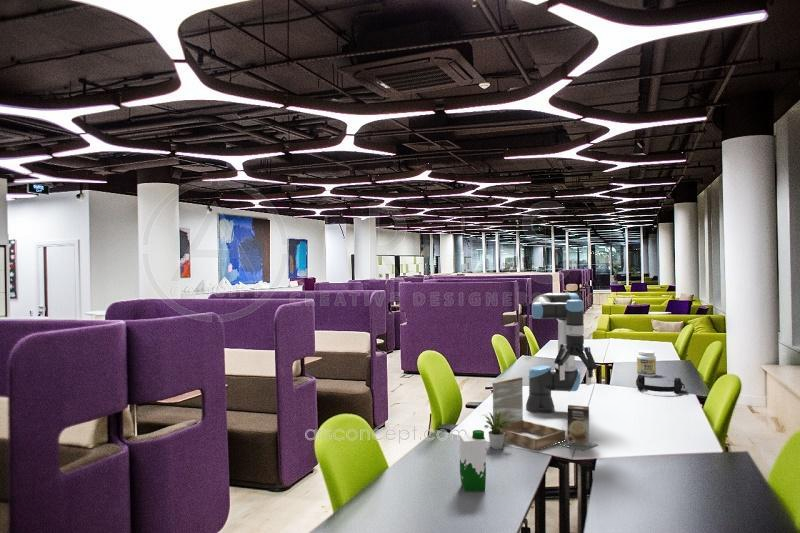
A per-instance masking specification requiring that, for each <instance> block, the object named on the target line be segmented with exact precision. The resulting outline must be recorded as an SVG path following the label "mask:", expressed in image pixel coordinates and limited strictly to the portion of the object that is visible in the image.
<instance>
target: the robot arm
mask: <svg viewBox="0 0 800 533" xmlns="http://www.w3.org/2000/svg"><path fill="white" fill-rule="evenodd" d="M531 302H532V303H531V318H533V319H538V320H540V319H542V320H544V319H547V320H548V319H549V320H550V319H554V320H555V319H556V320H557V322H558V323H557V328H558V330H557V339H558V340H557V355H556V357H555V360H554V364H555V366H554V368H552V367H551V366H550V365H538V366H533V367H530V368H529V370H528V378H529V379H528V380H529V381H528V398H527V400H526V403H525V409H526V410H527V411H528V412H533V413H541V414H542V413H543V414H545V413H553V412H554V411H555V403H554V400H553V397H552V392H556V391H557V392H577V391H578V390H579V388H580V382H581V370H580V369H578V365H576V364H575V361H576V360H575V359H576V358H575V357H578V358H580V360H581V362H582V363H583V365H584V366H585V367H586V370H585V376H586V377H585V378H586V379H585V380H586V381H585V385H586V386H591V385H592V378H593V376H594V372H593V371H594V370H596V369H597V368H598V366H597V364H596V362H595V359H594V357H593V355H592V352H591V347H590V346H584V343H585V336H584V334H585V331H584V330H585V327H584V326H585V324H584V312H585V311H584V310H585V306H584V301H583V300H582V299H580V297H579V294H578V293H576V292H548V293H547V292H546V293H545V292H544V293H542V294H539V295H537V296H536V297H534V298H533V300H532V301H531Z"/></svg>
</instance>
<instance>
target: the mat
mask: <svg viewBox="0 0 800 533" xmlns="http://www.w3.org/2000/svg"><path fill="white" fill-rule="evenodd" d="M558 444H561V445H565V446H569V447H572V448H575V449H574V450H576V449H577V450H576V451H579V450H580V452H584V451H586V450H588V448H589V449H591V447H592V448H594V447H597V446H598V443H595V442H593V441H589V447H587V446H577V445H568V444H567V439H565V441H563V442H560V443H557V445H558ZM561 445H560V446H561ZM596 445H597V446H596ZM565 446H564V447H565ZM593 446H594V447H593ZM569 447H568V448H569ZM572 448H571V449H572Z"/></svg>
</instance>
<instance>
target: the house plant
mask: <svg viewBox="0 0 800 533" xmlns="http://www.w3.org/2000/svg"><path fill="white" fill-rule="evenodd" d="M500 412H501V410H500V411H499V412H498V414H497V413H496V411H495V421H494V417H493V413H491V412H490V411H489V412H488V414H489V415H490V416H488V414H486V413H485V414H482V416H484V417H485V418H486V419H487V420H486V421H485V423H487V424H488V425H487V424H485V425H484V428H485V429H491V430H489V431H488V437H489V438H488V439H489V443H490V444H489V445H490V447H492V449H495V448H496V449H495V450H497V449H498V450H499V448H500V449H502V448H503V446H504V441H505V440H504V436H505V432H503V431H502V430H503V429H502V426H503V425H504V424H505V423H508V422H514V421H504V422H503V420H505V418H506V417H507V416H508V415H509V414H508V415H506V416H505V417H504V418H503V419H502V420H501V421H500V422H499V419H500V417H501V415H502V414H503V413H504V412H502V413H501V414H500ZM507 418H510V417H507ZM504 426H505V427H504ZM504 426H503V428H510V427H508V426H510V425H507V426H506V425H504ZM501 429H502V430H501Z"/></svg>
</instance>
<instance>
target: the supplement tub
mask: <svg viewBox="0 0 800 533" xmlns="http://www.w3.org/2000/svg"><path fill="white" fill-rule="evenodd" d="M637 352H638V355H637V356H636V374H637V376H638V375H644V377H646V378H647V377H648V378H649V377H650V378H653V377H656V375H657V370H656V369H657V368H656V365H657V359H656V358H657V357H656V356H655V351H653V350H638V351H637Z"/></svg>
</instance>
